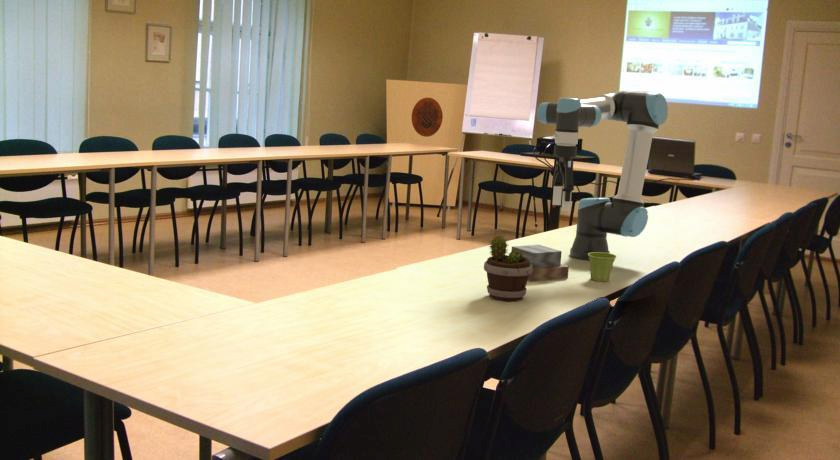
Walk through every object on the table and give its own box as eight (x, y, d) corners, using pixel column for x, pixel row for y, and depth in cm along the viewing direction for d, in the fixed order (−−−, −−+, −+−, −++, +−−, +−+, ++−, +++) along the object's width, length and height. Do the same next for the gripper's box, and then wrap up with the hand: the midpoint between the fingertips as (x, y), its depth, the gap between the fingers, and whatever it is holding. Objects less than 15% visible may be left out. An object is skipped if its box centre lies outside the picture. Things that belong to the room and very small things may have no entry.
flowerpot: (534, 294, 253) (539, 231, 249) (524, 306, 238) (529, 238, 235) (489, 289, 257) (493, 226, 254) (476, 299, 243) (480, 233, 240)
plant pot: (614, 284, 273) (616, 258, 272) (585, 281, 275) (587, 256, 273) (613, 278, 282) (615, 253, 281) (585, 275, 284) (587, 251, 282)
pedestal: (537, 268, 292) (539, 243, 291) (567, 277, 279) (570, 252, 277) (501, 271, 284) (503, 245, 282) (531, 281, 270) (533, 254, 269)
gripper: (546, 141, 284) (542, 202, 288) (563, 147, 260) (558, 213, 264) (568, 142, 285) (563, 203, 289) (586, 148, 260) (581, 214, 264)
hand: (561, 208), depth 276 cm, fingers open, 13 cm apart
